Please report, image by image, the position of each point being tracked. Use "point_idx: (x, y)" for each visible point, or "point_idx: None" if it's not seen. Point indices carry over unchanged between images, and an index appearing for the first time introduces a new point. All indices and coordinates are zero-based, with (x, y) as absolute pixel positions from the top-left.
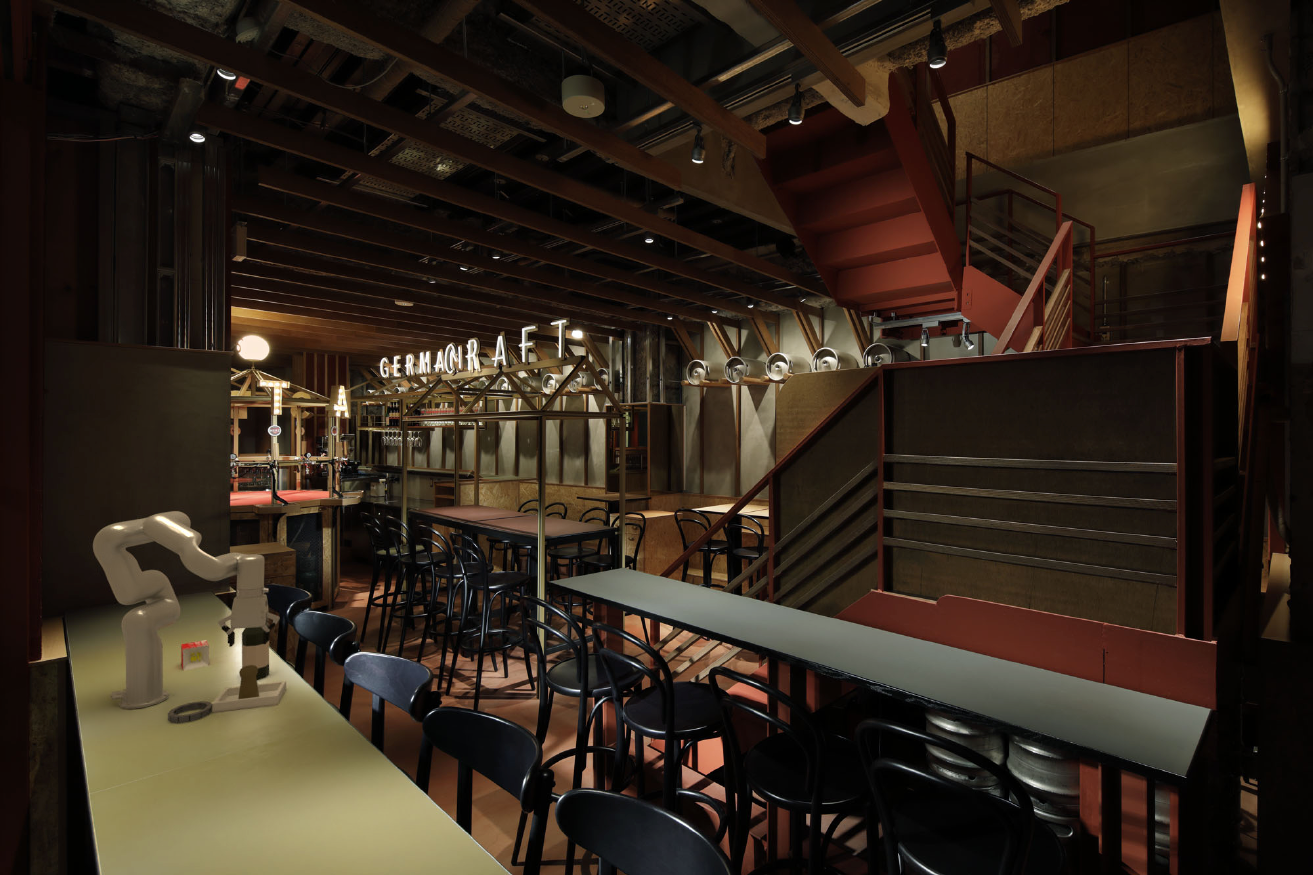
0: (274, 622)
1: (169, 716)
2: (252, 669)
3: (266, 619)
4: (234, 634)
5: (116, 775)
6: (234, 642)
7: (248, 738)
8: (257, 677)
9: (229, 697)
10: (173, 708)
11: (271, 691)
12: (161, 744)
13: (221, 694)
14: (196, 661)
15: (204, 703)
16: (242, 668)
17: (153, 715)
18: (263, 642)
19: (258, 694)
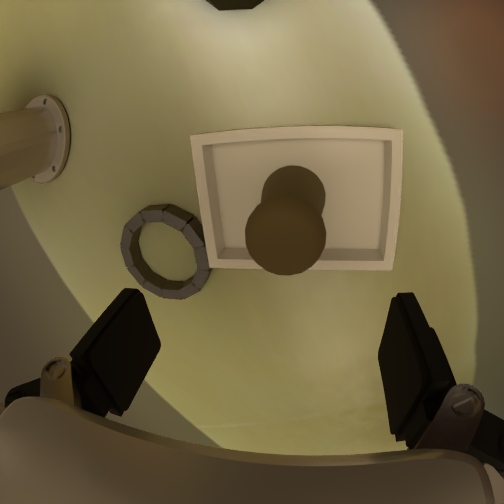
0: (496, 485)
1: (139, 281)
2: (308, 266)
3: (474, 489)
4: (104, 354)
5: (191, 410)
6: (138, 297)
7: (340, 389)
8: (254, 2)
9: (221, 157)
10: (121, 241)
11: (351, 143)
12: (194, 363)
13: (203, 199)
14: None
15: (178, 229)
16: (257, 255)
17: (94, 224)
18: (381, 365)
19: (324, 201)
